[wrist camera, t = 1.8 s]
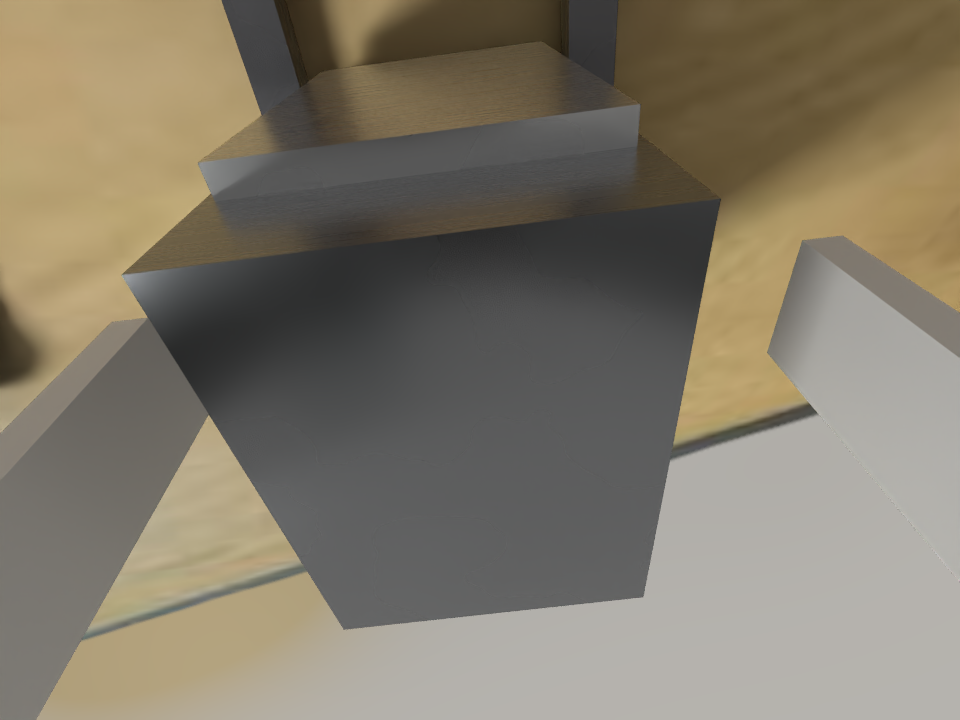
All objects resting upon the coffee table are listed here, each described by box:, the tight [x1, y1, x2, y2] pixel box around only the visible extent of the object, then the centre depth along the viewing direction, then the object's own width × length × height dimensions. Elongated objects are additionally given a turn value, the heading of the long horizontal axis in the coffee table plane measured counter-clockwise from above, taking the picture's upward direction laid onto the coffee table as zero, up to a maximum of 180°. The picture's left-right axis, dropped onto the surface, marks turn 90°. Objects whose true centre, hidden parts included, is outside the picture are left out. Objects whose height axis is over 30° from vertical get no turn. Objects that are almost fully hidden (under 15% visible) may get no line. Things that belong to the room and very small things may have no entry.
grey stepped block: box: [122, 41, 721, 629], centre depth 11 cm, size 6×8×11 cm
